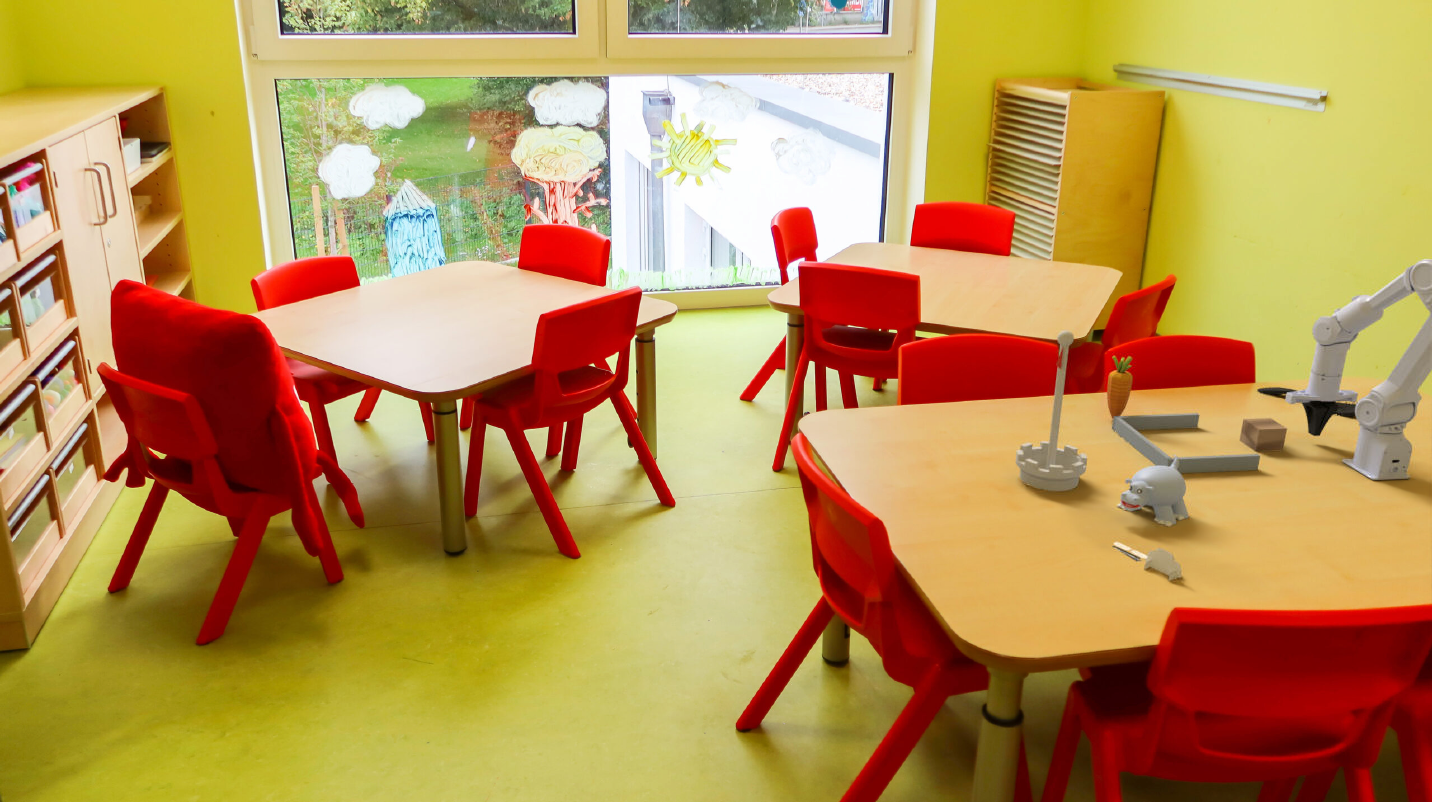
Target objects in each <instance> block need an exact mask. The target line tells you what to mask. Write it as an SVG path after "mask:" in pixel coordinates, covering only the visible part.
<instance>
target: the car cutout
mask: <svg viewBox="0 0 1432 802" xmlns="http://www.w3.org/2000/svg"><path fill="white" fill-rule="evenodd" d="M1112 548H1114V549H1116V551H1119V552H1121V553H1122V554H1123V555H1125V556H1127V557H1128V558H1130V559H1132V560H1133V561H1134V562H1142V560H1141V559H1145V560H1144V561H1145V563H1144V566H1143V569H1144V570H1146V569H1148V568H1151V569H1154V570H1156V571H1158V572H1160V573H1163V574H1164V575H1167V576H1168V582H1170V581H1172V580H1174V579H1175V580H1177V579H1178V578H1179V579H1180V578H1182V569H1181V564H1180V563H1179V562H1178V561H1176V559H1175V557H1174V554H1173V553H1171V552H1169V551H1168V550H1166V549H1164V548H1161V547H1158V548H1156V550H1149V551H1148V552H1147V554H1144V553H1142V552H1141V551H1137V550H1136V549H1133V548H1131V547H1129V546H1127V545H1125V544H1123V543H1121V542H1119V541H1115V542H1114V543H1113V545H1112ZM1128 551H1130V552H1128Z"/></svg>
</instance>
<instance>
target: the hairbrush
mask: <svg viewBox="0 0 1432 802" xmlns="http://www.w3.org/2000/svg"><path fill="white" fill-rule="evenodd" d="M1296 391H1298V390H1296V389H1292V388H1287V387H1280V386H1279V387H1278V386H1277V387H1276V386H1275V387H1261V388H1258V389H1257V392H1258V393H1260V394H1262V393H1263V394H1262V395H1264V394H1265V395H1266V394H1267V395H1269V394H1270V395H1273V394H1274V395H1286V394H1287V392H1296ZM1335 404H1337V405H1339V408H1338V411H1336V412H1335V413H1334V414H1337V415H1336V416H1338V415H1340V416H1339V417H1349V416H1351V417H1352V416H1356V415H1355V407H1356V404H1357V402H1351V401H1344V402H1341V401H1335ZM1334 414H1333V415H1334Z"/></svg>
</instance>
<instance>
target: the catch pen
mask: <svg viewBox="0 0 1432 802" xmlns="http://www.w3.org/2000/svg"><path fill="white" fill-rule="evenodd" d="M1199 419H1200V414H1199V413H1197V412H1187V413H1164V414H1161V413H1160V414H1138V415H1137V414H1135V415H1120V416H1114V417H1113V419H1112V425H1111V430H1112V429H1113V430H1114V431H1113V430H1112V431H1113V432H1115V431H1116V432H1117V433H1118V434H1119V435H1118V434H1117V433H1116V432H1115V433H1116V434H1117V435H1118V436H1120V438H1122V437H1123V438H1124V439H1125V440H1124V439H1123V438H1122V439H1123V440H1124V441H1126V442H1127V443H1128V442H1129V443H1130V444H1129V443H1128V444H1129V445H1131V446H1132V447H1133V448H1134V447H1135V448H1136V451H1138V452H1139V451H1140V452H1141V453H1140V452H1139V453H1140V454H1142V455H1143V456H1144V457H1145V458H1147V459H1148V460H1149V461H1150V462H1152V463H1153V464H1154V466H1168V467H1170V466H1171V465H1172V463H1173V462H1174V460H1175V456H1173V457H1171V456H1170V455H1168V454H1167V453H1166V452H1165V451H1163V450H1162V449H1161V448H1160V447H1158V446H1157V445H1156V444H1154V443H1153V442H1152V441H1150V440H1149V439H1148V438H1147V437H1146V436H1144V435H1143V434H1142V433H1140V431H1143V430H1145V429H1149V430H1169V429H1172V430H1173V429H1195V428H1196V429H1197V428H1198V427H1199ZM1138 429H1139V430H1138ZM1145 431H1146V430H1145ZM1135 448H1134V449H1135ZM1177 457H1178V459H1179V466H1178V469H1177V471H1178V472H1179V473H1180V474H1189V473H1190V474H1191V473H1192V474H1193V473H1195V474H1196V473H1213V472H1214V473H1217V472H1237V471H1238V472H1239V471H1241V472H1242V471H1257V470H1259V469H1258V468H1259V465H1260V460H1261V455H1260V454H1258V453H1252V454H1251V453H1246V454H1242V453H1241V454H1227V455H1223V454H1221V455H1201V456H1200V455H1199V456H1198V455H1197V456H1196V455H1195V456H1177Z"/></svg>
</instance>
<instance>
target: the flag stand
mask: <svg viewBox="0 0 1432 802" xmlns="http://www.w3.org/2000/svg"><path fill="white" fill-rule="evenodd" d="M1056 340H1057V342H1058V343H1057V344H1059V355H1058V358H1057V361H1056V362H1055V365H1056V367H1057V371H1056V380H1055V388H1054V396H1053V397H1054V398H1053V404H1052V414H1051V416H1052V417H1051V423H1050V432H1049V438H1048V439H1049V440H1048V441H1047V440H1046V441H1045V440H1041V441H1040V446H1033V445H1034V444H1033V443H1031V442H1026V443H1023V444H1021V445H1020V448H1019V449H1016V452H1015V453H1016V454H1015V465H1016V466H1017V467H1018V468H1019V470H1020V471H1019V479H1020V478H1021V479H1022V480H1023V481H1022V480H1021V479H1020V480H1021V481H1022V483H1024V482H1025V483H1026V484H1025V483H1024V484H1025V485H1027V484H1029V485H1031V486H1033V487H1032V488H1034V487H1035V489H1037V488H1039V489H1038V490H1041V489H1044V490H1043V491H1047V490H1048V492H1049V491H1050V492H1064V491H1065V492H1066V491H1069V490H1073V489H1076V487H1077V486H1078V485H1079V481H1080V476H1082V475H1083V474H1084V473H1086V471H1087V463H1088V455H1087V454H1086V453H1082V452H1081V453H1079V454H1078V451H1079V450H1078V447H1075V446H1073V445H1069V444H1066V445H1064V448H1060V447H1058V442H1059V440H1058V439H1059V433H1060V424H1061V415H1062V407H1063V399H1064V390H1065V383H1066V382H1065V381H1066V374H1067V372H1066V371H1067V363H1068V356H1069V355H1068V354H1069V347H1070V346H1071V345H1072V344H1073V342H1074V340H1075V337H1074V334H1073V333H1072V332H1071V331H1070V330H1067V329H1066V330H1061V331H1060V332H1059V333H1058V334H1057V338H1056ZM1029 485H1028V486H1029ZM1031 486H1030V487H1031Z"/></svg>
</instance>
